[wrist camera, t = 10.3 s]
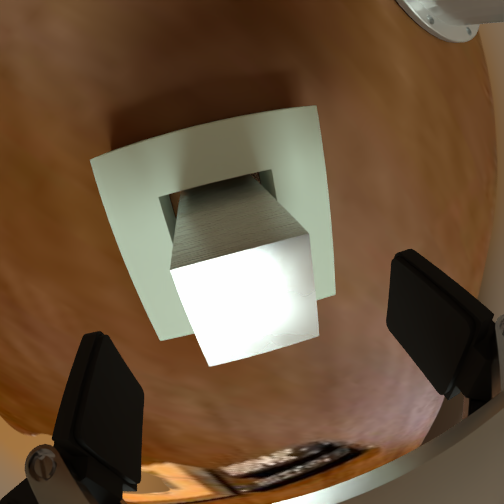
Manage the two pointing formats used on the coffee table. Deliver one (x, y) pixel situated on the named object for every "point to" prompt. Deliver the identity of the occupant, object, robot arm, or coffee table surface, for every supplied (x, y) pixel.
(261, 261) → the steel bar
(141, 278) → the well block
